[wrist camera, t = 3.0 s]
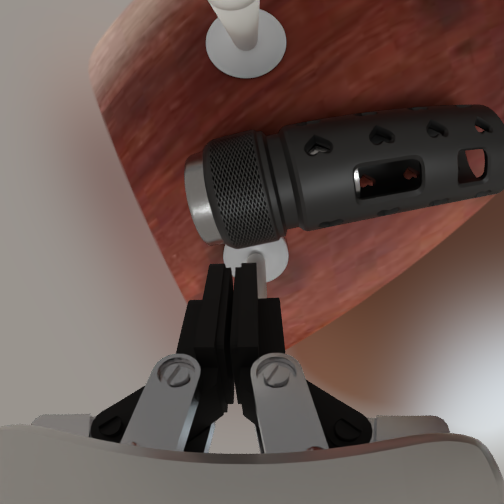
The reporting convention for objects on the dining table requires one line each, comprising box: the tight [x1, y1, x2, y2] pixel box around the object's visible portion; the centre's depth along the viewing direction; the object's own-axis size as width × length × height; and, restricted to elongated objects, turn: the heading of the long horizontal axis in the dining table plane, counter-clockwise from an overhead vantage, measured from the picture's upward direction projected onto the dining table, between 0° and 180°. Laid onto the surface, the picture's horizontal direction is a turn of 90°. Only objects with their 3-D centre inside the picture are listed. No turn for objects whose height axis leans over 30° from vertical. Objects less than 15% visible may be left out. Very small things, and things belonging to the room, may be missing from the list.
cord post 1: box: [206, 0, 286, 78], centre depth 16 cm, size 7×7×20 cm
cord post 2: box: [223, 237, 288, 299], centre depth 27 cm, size 7×7×20 cm
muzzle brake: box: [184, 105, 504, 249], centre depth 25 cm, size 10×28×10 cm, turn 104°
